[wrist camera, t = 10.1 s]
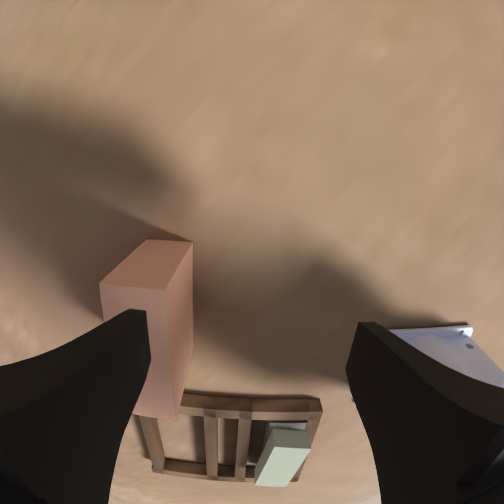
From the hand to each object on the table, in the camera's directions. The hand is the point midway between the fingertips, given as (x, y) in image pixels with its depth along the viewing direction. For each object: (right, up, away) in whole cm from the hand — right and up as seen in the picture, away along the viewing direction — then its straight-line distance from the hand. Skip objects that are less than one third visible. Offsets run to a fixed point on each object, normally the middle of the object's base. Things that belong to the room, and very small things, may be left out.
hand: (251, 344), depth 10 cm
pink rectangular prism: (-5, 0, +10) cm, 11 cm away
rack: (-2, -14, +14) cm, 20 cm away
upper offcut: (+2, -15, +13) cm, 20 cm away
